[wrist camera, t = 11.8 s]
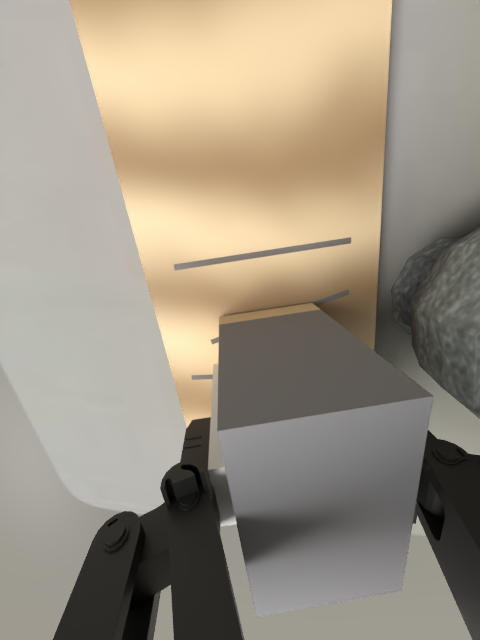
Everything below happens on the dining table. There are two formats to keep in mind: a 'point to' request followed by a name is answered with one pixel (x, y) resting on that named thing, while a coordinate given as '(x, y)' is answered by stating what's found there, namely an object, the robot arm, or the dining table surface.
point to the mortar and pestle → (444, 313)
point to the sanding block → (317, 457)
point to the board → (245, 159)
